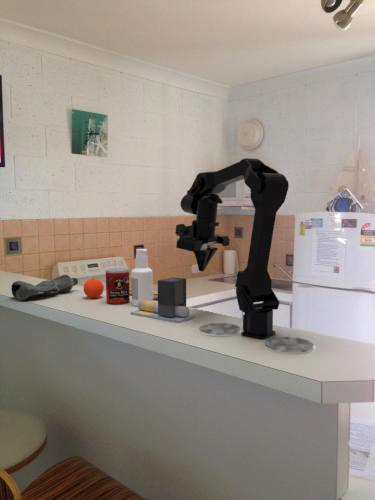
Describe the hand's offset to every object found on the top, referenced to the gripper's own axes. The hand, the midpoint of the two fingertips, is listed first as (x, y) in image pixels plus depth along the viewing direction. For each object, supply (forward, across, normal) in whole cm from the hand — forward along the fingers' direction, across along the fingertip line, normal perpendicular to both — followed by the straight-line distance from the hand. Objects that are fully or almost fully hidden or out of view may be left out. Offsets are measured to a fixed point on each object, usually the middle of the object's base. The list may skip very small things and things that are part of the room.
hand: (201, 271), depth 134 cm
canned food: (+17, +2, -31) cm, 35 cm away
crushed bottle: (+21, +8, -60) cm, 64 cm away
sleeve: (+13, +7, -4) cm, 16 cm away
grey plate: (+14, +7, -7) cm, 17 cm away
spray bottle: (+16, 0, -22) cm, 27 cm away
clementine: (+19, +1, -43) cm, 47 cm away
